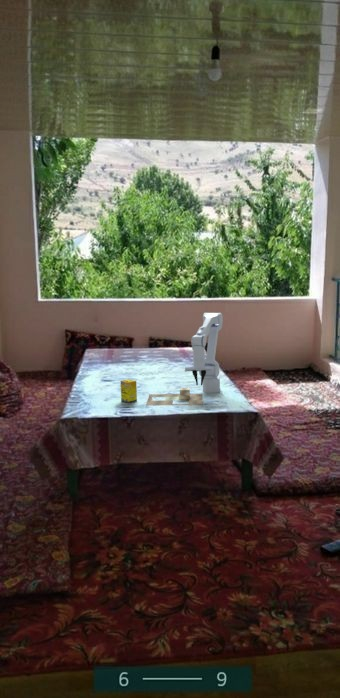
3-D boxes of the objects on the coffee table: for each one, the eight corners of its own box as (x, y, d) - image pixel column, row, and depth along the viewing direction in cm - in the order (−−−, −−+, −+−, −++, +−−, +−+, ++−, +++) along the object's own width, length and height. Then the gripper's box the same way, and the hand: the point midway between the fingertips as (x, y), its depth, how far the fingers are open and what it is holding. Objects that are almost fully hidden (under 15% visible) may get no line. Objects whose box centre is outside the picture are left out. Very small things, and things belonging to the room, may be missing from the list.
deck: (202, 396, 277) (202, 393, 277) (203, 407, 256) (203, 404, 255) (149, 397, 279) (149, 394, 278) (145, 408, 257) (145, 405, 257)
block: (189, 397, 271) (189, 387, 270) (189, 399, 266) (189, 389, 265) (180, 397, 271) (180, 387, 270) (179, 399, 266) (179, 390, 265)
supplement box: (120, 401, 271) (120, 380, 269) (129, 399, 275) (129, 378, 274) (128, 403, 267) (127, 382, 265) (137, 401, 271) (136, 380, 269)
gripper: (184, 360, 261) (185, 386, 263) (213, 359, 260) (213, 386, 263) (184, 357, 268) (185, 383, 270) (213, 357, 267) (213, 383, 270)
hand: (199, 385), depth 267 cm, fingers closed
